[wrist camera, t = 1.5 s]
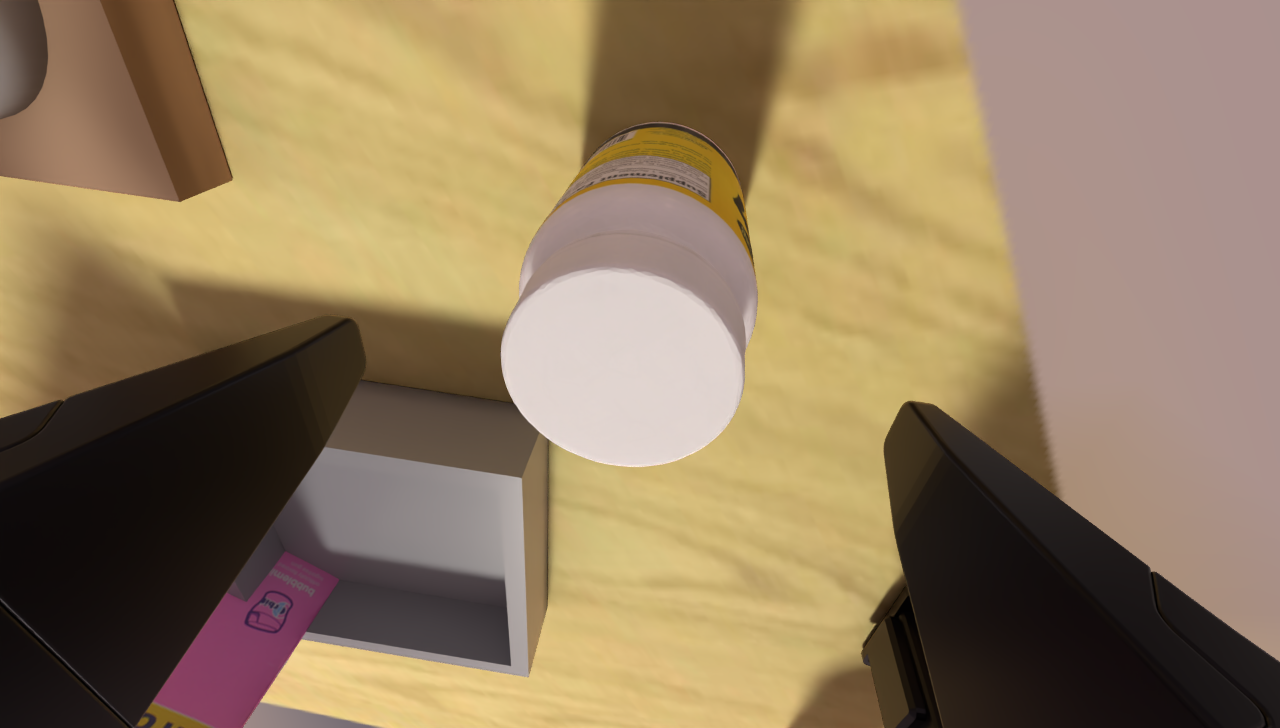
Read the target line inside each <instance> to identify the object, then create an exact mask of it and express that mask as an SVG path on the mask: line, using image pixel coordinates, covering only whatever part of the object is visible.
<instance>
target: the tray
mask: <svg viewBox="0 0 1280 728" xmlns="http://www.w3.org/2000/svg"><path fill="white" fill-rule="evenodd" d="M285 551H286V552H288V553H290V554H292V555H294V556H296V557H298V558H300V559H302V560H304V561H306V562H308V563H310V564H312V565H313V566H315V567H317V568H319V569H321V570H323V571H325V572H327V573H329V574H331V575H332V576H334V577H336V578H338V579H339V581H338V583H337V585H336V586H335V588H334V589H333V591H332V592H331V594H330V595H329V597H328V598H327V600H326V601H325V603H324V605H323V606H322V608H321V609H320V611H319V612H318V614H317V616H316V617H315V619H314V620H313V622H312V623H311V625H310V626H309V628H308V629H307V631H306V633H305V634H304V636H303V637H302V639H303V640H309V641H315V642H321V643H327V644H333V645H339V646H345V647H351V648H357V649H363V650H369V651H375V652H381V653H387V654H393V655H399V656H405V657H411V658H417V659H422V660H428V661H434V662H440V663H446V664H452V665H458V666H464V667H470V668H476V669H482V670H488V671H494V672H500V673H506V674H512V675H518V676H524V677H529V674H530V671H531V667H532V663H533V659H534V656H535V652H536V648H537V644H538V641H539V637H540V633H541V629H542V625H543V622H544V618H545V614H546V610H547V580H548V439H547V438H546V437H545V436H544V435H542V434H541V433H540V432H539V431H538V430H537V429H536V428H535V427H534V426H533V425H532V424H530V423H529V422H528V421H527V419H526V418H525V417H524V416H523V415H522V413H521V412H520V410H519V409H518V407H517V406H516V405H515V404H514V403H507V402H501V401H494V400H488V399H481V398H474V397H468V396H461V395H455V394H448V393H442V392H435V391H429V390H422V389H415V388H409V387H402V386H396V385H389V384H383V383H376V382H370V381H363V380H360V382H359V384H358V386H357V388H356V389H355V391H354V393H353V395H352V397H351V399H350V401H349V403H348V405H347V407H346V409H345V411H344V412H343V414H342V416H341V418H340V420H339V422H338V424H337V426H336V428H335V430H334V432H333V433H332V435H331V437H330V439H329V441H328V442H327V444H326V446H325V447H324V449H323V451H322V452H321V454H320V455H319V457H318V458H317V460H316V461H315V463H314V464H313V466H312V467H311V469H310V470H309V472H308V473H307V475H306V476H305V478H304V479H303V481H302V482H301V484H300V485H299V486H298V488H297V489H296V491H295V492H294V494H293V495H292V497H291V498H290V500H289V501H288V503H287V504H286V506H285V507H284V509H283V510H282V512H281V513H280V515H279V516H278V517H277V519H276V520H275V522H274V523H273V525H272V526H271V528H270V529H269V531H268V532H267V534H266V535H265V537H264V538H263V540H262V541H261V543H260V544H259V546H258V547H257V549H256V550H255V551H254V553H253V554H252V556H251V557H250V559H249V560H248V562H247V563H246V565H245V566H244V568H243V569H242V571H241V572H240V574H239V575H238V577H237V578H236V580H235V581H234V583H233V584H232V585H231V587H230V588H229V590H228V591H227V593H228V594H230V595H233V596H235V597H237V598H239V599H241V600H243V601H245V602H247V601H248V599H249V598H250V597H251V596H252V594H253V593H254V592H255V590H256V589H257V588H258V586H259V585H260V584H261V583H262V581H263V580H264V579H265V578H266V576H267V575H268V574H269V572H270V571H271V570H272V569H273V567H274V566H275V565H276V563H277V562H278V561H279V559H280V558H281V556H282V555H283V554H284V552H285Z"/></svg>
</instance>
